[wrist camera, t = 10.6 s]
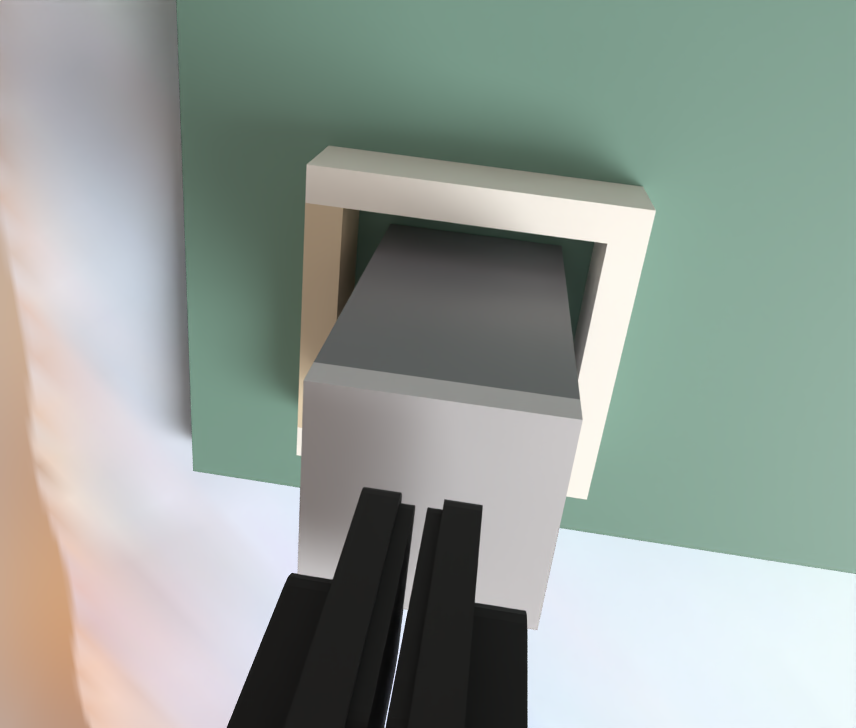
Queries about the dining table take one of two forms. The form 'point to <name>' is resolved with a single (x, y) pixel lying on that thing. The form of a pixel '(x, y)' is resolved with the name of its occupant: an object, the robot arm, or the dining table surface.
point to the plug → (448, 404)
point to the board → (551, 232)
